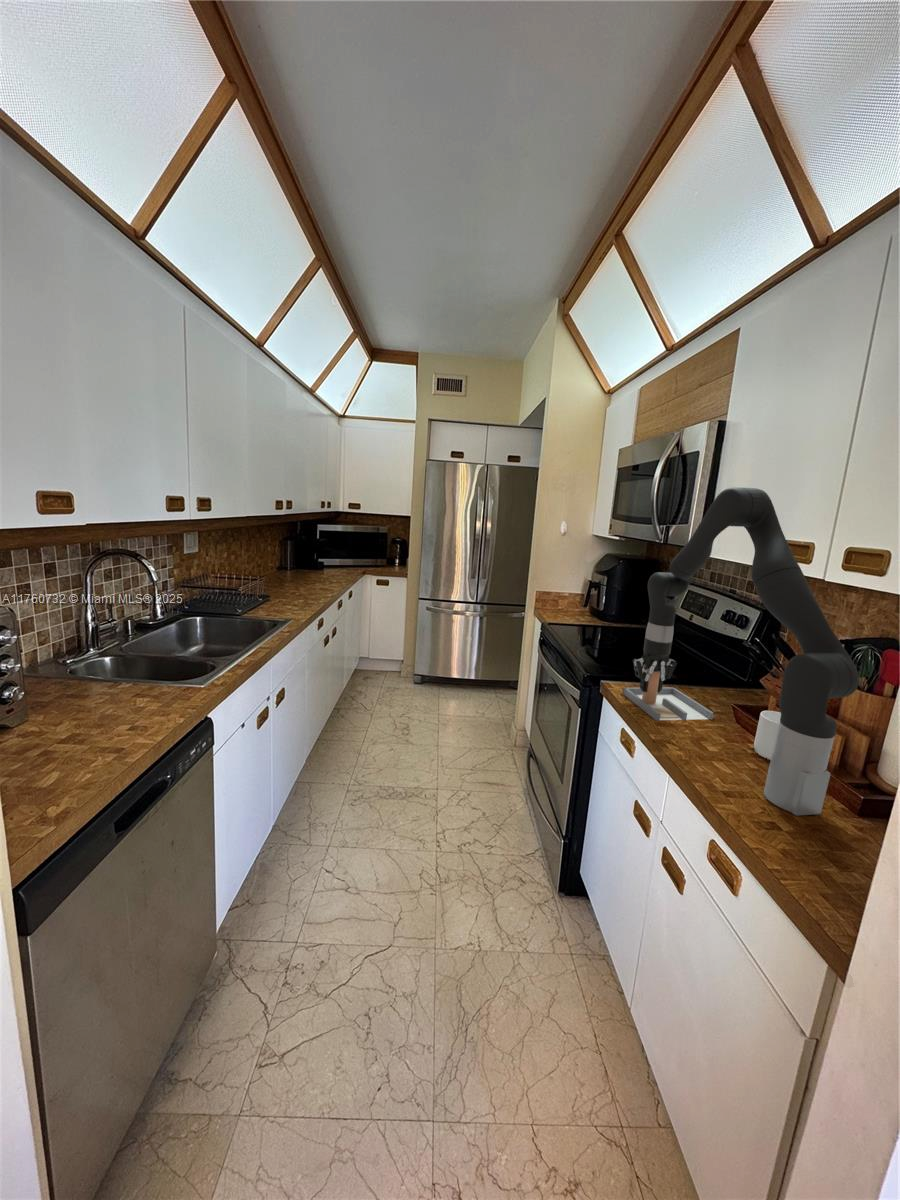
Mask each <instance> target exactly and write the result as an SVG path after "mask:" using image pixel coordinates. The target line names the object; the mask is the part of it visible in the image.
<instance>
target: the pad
mask: <svg viewBox="0 0 900 1200" xmlns="http://www.w3.org/2000/svg"><path fill="white" fill-rule="evenodd" d="M654 709H655V710H656V711H658V712H659V713H660V718H679V717H678V716H677V715H676V714H674V713H673V712H671V711H670V710H669V709H667V708H654Z"/></svg>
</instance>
